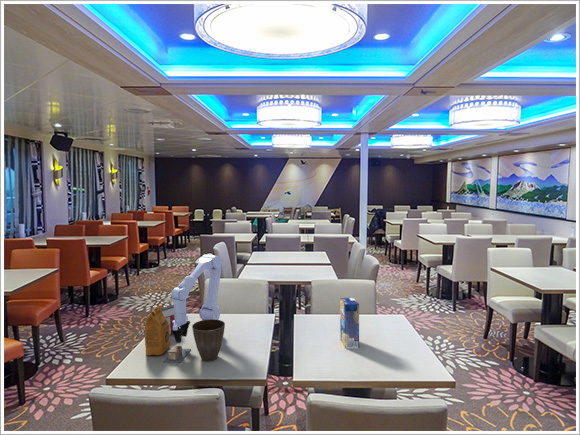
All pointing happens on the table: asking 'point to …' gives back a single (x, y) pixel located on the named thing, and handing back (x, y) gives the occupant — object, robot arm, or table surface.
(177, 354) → the walnut block
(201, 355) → the plant pot
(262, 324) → the table surface
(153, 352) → the coffee package
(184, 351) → the rubber mat
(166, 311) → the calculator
